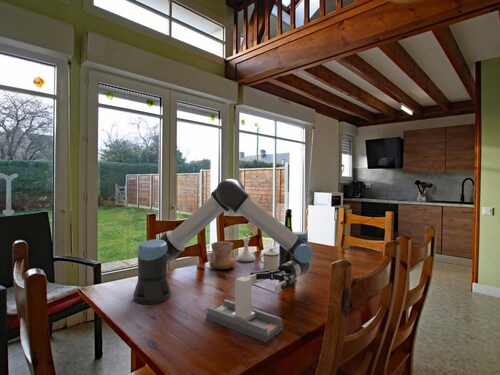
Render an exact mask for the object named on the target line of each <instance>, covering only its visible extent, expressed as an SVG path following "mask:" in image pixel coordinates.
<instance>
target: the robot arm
mask: <svg viewBox="0 0 500 375" xmlns="http://www.w3.org/2000/svg"><path fill="white" fill-rule="evenodd" d="M230 211H231V212H233V213H234V214H236V215H237V214H240V215H241V216H242V217H244V219H247V220H248V222H249V221H250V222H251V223H253V224H254V225H255V226H256V227H258V228H257V229H259V230H260V231H262V232H263V233H264V234H265V235H267V237H269V238H271V240H273V241H274V242H275V243H277V244H278V245H279V246H281V247H282V248H283V249H284V250H286V251H287V252H288V254H290V260H289V261H287V262H285V263H282V264H280V265H279V267H278V268H277V270H275V271H271V269H267V270H265V269H262V270H256V271H251V272H250V275H249V276H246V277H247V278H251V279H252V284H253V283H255V282H257V281H258V280H260V281H261V280H270V281H281V282H278V283H277V284H275V285H274V293H275V294H279V293H280V292H282V291H284V290H286V289H291V290H294V289H295V286H296V283H297V280H298V277H300V276H302V275H305V274H306V273H308V272H309V271H310V269H311V267H312V263H311V260H312V258H314V257H313V255H314V252H313V248H312V247H311V245H310V244H309V242H308V241H309V239H308V234H307V232H305V231H304V232H303V231H292V230H290V228H288V227H287V226H285V225H284V224H283V223H282V222H280V221H279V220H278V219H277V218H275V217H274V216H273V215H272V214H270V213H269V212H268V211H266V210H265V209H264V208H263V207H261V206H260V205H258V203H257V202H255V201H254V200H253V199H252V198H251V195H250V194H249V193H248V192H247V191H246V190H245V186H244V184H243V183H242V182H241V181H240V180H238V179H236V178H227V179H223V180H221V181H220V182H219V184H217V186H216V188H215V189H214V190H213V191H212V192H211V193H210V198H209V199H207V201H205V202H204V203H203V204H202V205H201V206H200V207H199V208H197V210H195V211H194V212H193V213H192V214H190V215H189V216H188V217H186V219H185V220H183V222H181V224H178V226H176V227H175V229H173V230H168V231H167V232H165V233H164V234H163V235H162V236H160V237H159V238H157V239H156V238H154V239H149V240H144V241H143V242H141V243H140V244H138V246H137V283H136V285H135V288H134V292H133V295H132V298H133V302H134V303H136V302H137V303H136V304H139V303H140V305H153V304H154V305H155V303H156V304H160V303H163V302H165V301H168V300H169V299H170V298H171V297H172V288H171V286H170V283H169V280H168V265H169V264H170V263H171V262H172V261H174V260H175V259H177V257H178V256H180V254H181V253H182V252H184V251H185V249H186V247H185V246H186V244H188V243H189V242H190V241H191V240H193V239H194V238H195V236H197V235H198V234H199V233H200V232H202V231H203V229H205V228H206V227H207V226H209V225H210V223H212V222H214V220H215V219H216V218H218V217H219V216H220V215H221V214H222V213H228V212H230Z"/></svg>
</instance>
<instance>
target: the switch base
mask: <svg viewBox="0 0 500 375" xmlns="http://www.w3.org/2000/svg"><path fill="white" fill-rule="evenodd" d="M206 311H207V312H206V314H205V316H206V317H205V319H206V320H209V321H212V322H214V323H216V324H219V325H221V326H224V327H225V328H228V329H231V330H234V331H236V332H239V333H242V334H243V335H246V336H247V337H250V336H251V338H253V337H254V339H255V338H257V339H256V340H258V339H259V340H258V341H260V340H261V342H263V341H264V342H263V343H265V342H267V341H268V340H269V341H271V340H272V339H273V338H275V337H276V336H277V335H278V333H279V332H280V331H281V332H282V331H284V324H283V323H282V320H283V319H282V317H280V316H277V315H274V314H271V313H267V312H265V311H262V310H258V309H256V308H254V307H251V311H252V312H255V317H254V318H252V319H251V320H249V321H247V320H245V319H242V318H239V317H236V316H234V315H231V314H232V313H234V312H235V301H231V300H229V299H227V298H226V299H224V300H223V304H222V305H219V306H218V307H215V308H214V307H212V306H208V307H207V310H206ZM281 332H280V333H281ZM280 333H279V334H280ZM276 334H277V335H276ZM275 335H276V336H275ZM274 336H275V337H274ZM272 337H273V338H272ZM271 338H272V339H271ZM270 339H271V340H270ZM269 341H268V342H269ZM268 342H267V343H268Z"/></svg>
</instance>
